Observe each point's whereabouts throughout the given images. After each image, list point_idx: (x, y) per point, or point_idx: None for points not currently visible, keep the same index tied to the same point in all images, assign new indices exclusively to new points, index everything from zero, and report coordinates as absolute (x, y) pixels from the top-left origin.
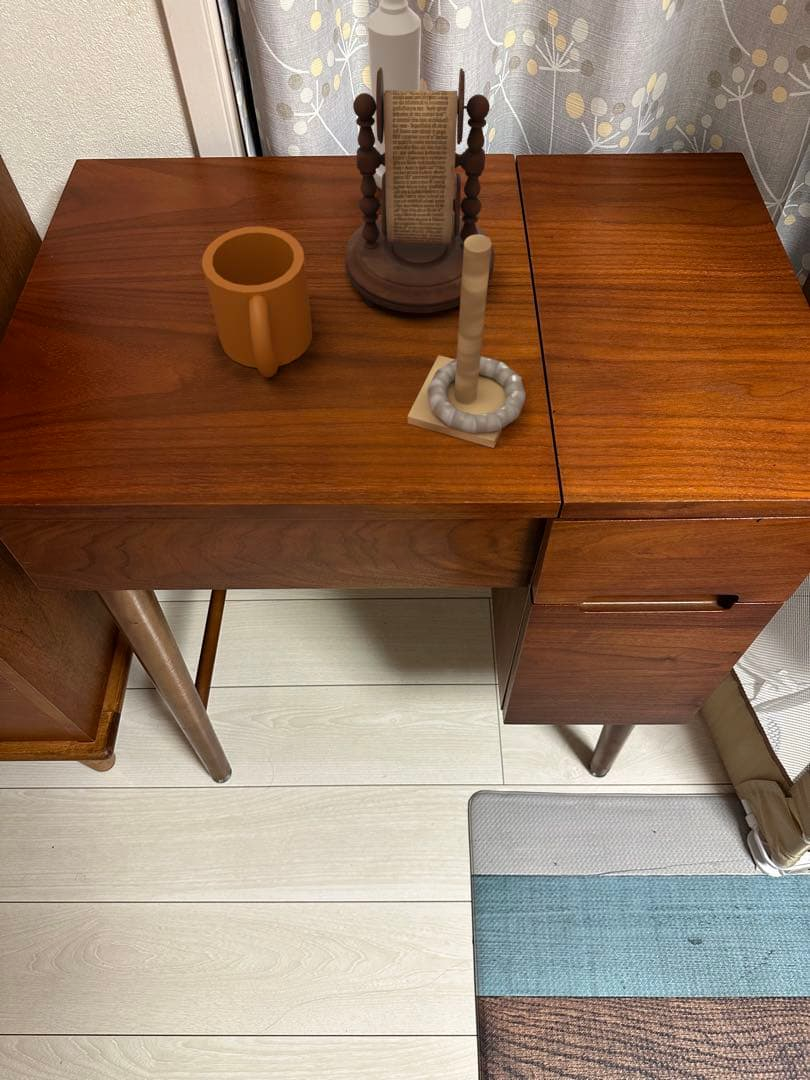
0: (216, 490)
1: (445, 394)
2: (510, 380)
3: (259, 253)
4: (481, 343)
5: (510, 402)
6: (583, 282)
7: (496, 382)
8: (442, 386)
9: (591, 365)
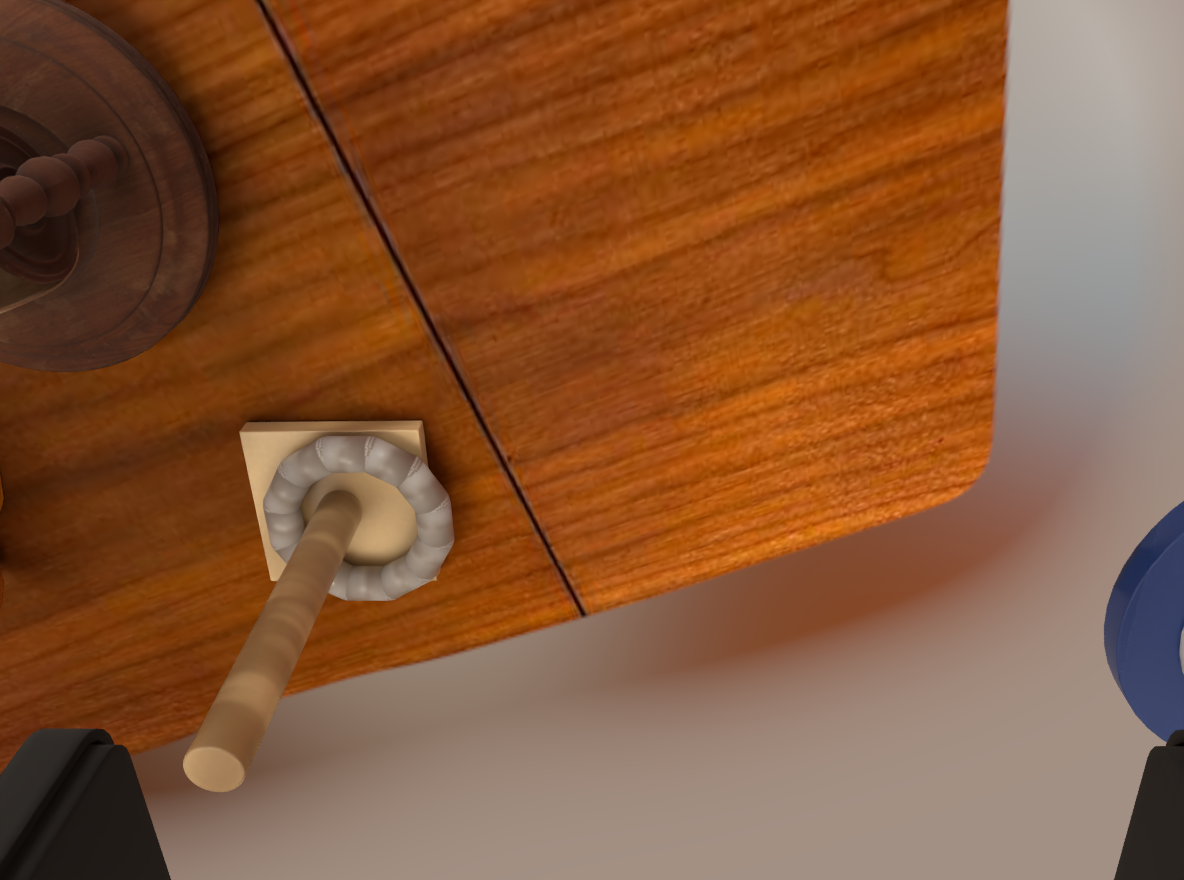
0: None
1: None
2: (405, 492)
3: None
4: (323, 597)
5: (428, 540)
6: (427, 42)
7: None
8: (294, 544)
9: (539, 317)
